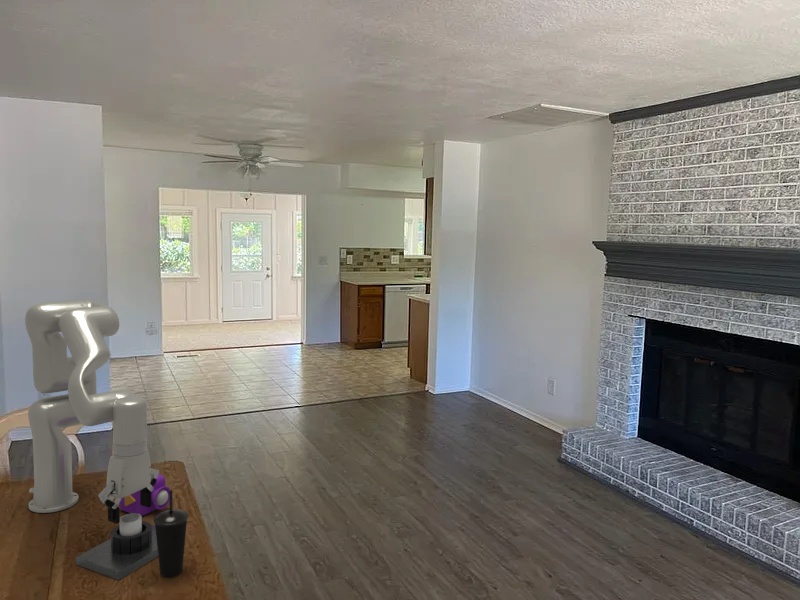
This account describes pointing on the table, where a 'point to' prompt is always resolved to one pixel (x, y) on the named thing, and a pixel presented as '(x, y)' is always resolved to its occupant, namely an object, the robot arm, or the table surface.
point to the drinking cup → (171, 539)
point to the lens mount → (121, 553)
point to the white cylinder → (130, 524)
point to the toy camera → (157, 499)
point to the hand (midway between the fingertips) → (130, 513)
